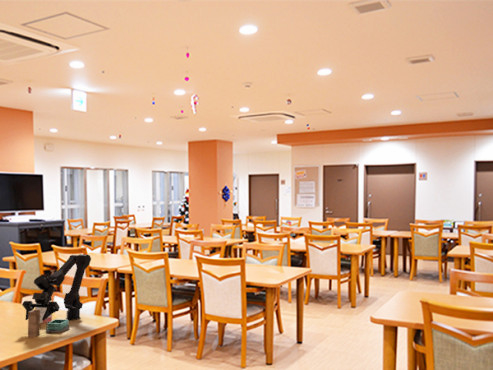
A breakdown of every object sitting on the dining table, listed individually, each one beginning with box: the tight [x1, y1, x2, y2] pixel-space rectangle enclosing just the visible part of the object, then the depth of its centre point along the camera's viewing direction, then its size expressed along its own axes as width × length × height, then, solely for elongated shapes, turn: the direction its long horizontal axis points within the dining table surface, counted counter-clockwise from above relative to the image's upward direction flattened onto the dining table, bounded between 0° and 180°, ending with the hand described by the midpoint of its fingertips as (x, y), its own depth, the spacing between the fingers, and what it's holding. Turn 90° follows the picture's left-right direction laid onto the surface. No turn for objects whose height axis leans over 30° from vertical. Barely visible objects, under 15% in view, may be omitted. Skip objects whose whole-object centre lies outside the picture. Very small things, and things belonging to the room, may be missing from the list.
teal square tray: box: [45, 318, 70, 334], centre depth 233 cm, size 12×12×4 cm
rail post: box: [27, 309, 41, 338], centre depth 223 cm, size 4×4×13 cm
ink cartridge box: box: [34, 300, 53, 324], centre depth 248 cm, size 9×5×15 cm, turn 105°
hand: (34, 320), depth 223 cm, fingers open, 9 cm apart
